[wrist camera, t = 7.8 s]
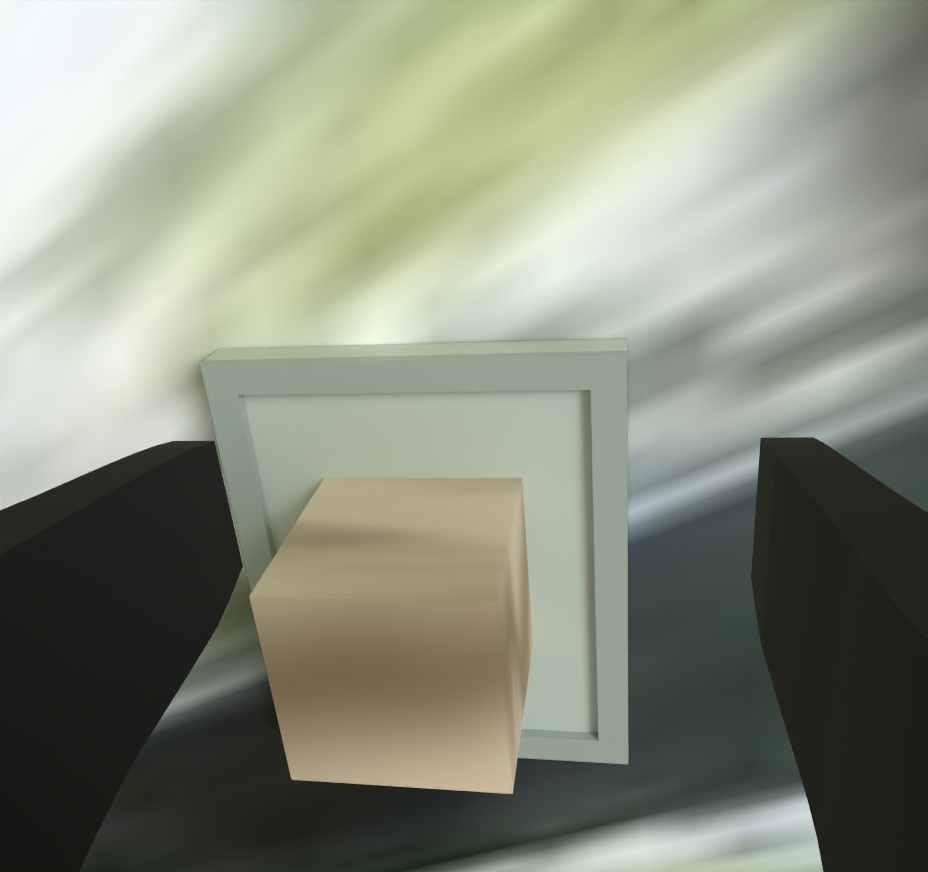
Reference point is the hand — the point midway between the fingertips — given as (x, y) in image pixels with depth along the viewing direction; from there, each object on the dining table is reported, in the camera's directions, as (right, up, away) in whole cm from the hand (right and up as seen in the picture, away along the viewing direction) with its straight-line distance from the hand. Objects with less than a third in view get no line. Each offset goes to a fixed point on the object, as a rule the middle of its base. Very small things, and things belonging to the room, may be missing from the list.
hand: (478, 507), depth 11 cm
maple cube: (-1, -2, +11) cm, 11 cm away
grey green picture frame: (-1, -2, +12) cm, 12 cm away
